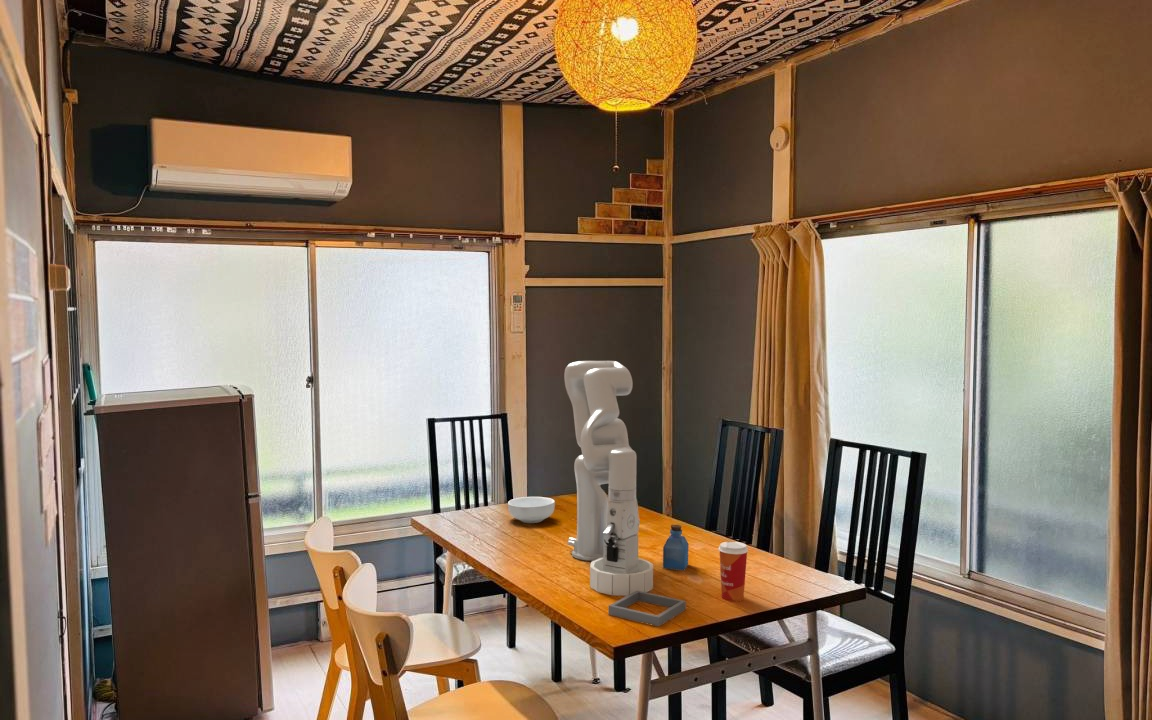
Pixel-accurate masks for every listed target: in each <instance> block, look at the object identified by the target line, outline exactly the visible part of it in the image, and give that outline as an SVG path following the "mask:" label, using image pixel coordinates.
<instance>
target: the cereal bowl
mask: <svg viewBox="0 0 1152 720" xmlns="http://www.w3.org/2000/svg"><path fill="white" fill-rule="evenodd" d="M555 506H556V502H555V500H554V499H553V498H550V497H545V496H544V497H543V496H522V497H515V498H513V499H510V500H509V501H507V508H508V513H509V514H510V515H511V517H513V518H514V519H516V520H518V521H520V522H522V523H526V524H535V523H536V524H537V523H541V522H543V521H544V520H545V519H547V518H549V517H550V516H552V514H553V513H554V511H555Z"/></svg>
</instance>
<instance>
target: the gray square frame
mask: <svg viewBox="0 0 1152 720" xmlns="http://www.w3.org/2000/svg"><path fill="white" fill-rule="evenodd" d="M636 602H643V603H647V604H653V605H657V606H660V605H661V606H662V607H666V608H667V609H666V610H664V611H662V612H660V613H659V614H657V615H656V614H652V613H649V612H644V611H640V610H635V609H631V608H628V607H630V606H632V605H633V604H635V603H636ZM686 605H687V601H686V600H682V599H678V598H674V597H668V596H666V595H665V596H664V595H659V594H657V593H651V592H642V591H638V590H637V591H635V592H633V593H631V594H630V595H628V596H624V597H622V598H621V599H619V600H616V601H615V602H613V603H611V604H609V605H608V615H610V616H612V617H613V616H614V617H617V618H622V619H625V620H629V621H634V622H637V623H641V622H643V623H642V624H645V623H648V624H647V625H649V624H652V625H651V626H654V625H655V627H658V626H659V627H660V625H661V624H662V625H664V624H665V623H667V622H669V621H670V620H672V619H673V618H675V617H677V616H678V615H680V614H681V613H683V612H684V611H686V609H687V606H686ZM668 620H669V621H668ZM663 623H664V624H663ZM662 625H661V626H662Z"/></svg>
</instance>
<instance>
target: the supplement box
mask: <svg viewBox="0 0 1152 720" xmlns="http://www.w3.org/2000/svg"><path fill="white" fill-rule="evenodd" d="M612 540H613V542H614V540H615V539H612ZM616 547H618V562H612V561H607V546H606V543H605V541H604V538H603V571H604V572H609V573H613V574H632V573H638V558H639V535H638V534H637V535H633V536H631V537H628V538H626V539H623V540H622V539H620V538H619V541H618V544H617V546H616Z"/></svg>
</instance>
